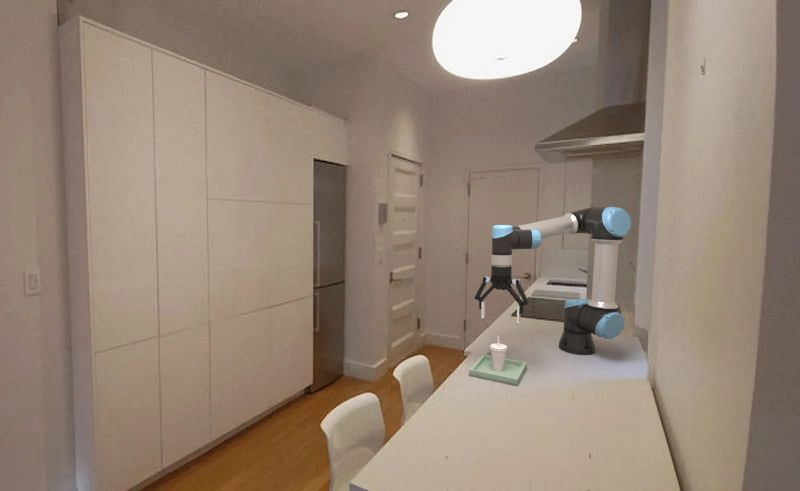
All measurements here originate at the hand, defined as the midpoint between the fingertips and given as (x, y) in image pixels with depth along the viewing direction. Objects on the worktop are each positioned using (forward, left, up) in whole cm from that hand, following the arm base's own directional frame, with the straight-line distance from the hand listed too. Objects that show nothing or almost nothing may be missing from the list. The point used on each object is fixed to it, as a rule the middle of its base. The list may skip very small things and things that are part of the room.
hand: (500, 319), depth 149 cm
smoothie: (0, 0, -20) cm, 20 cm away
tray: (0, 0, -21) cm, 21 cm away
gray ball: (+6, -11, -21) cm, 24 cm away
